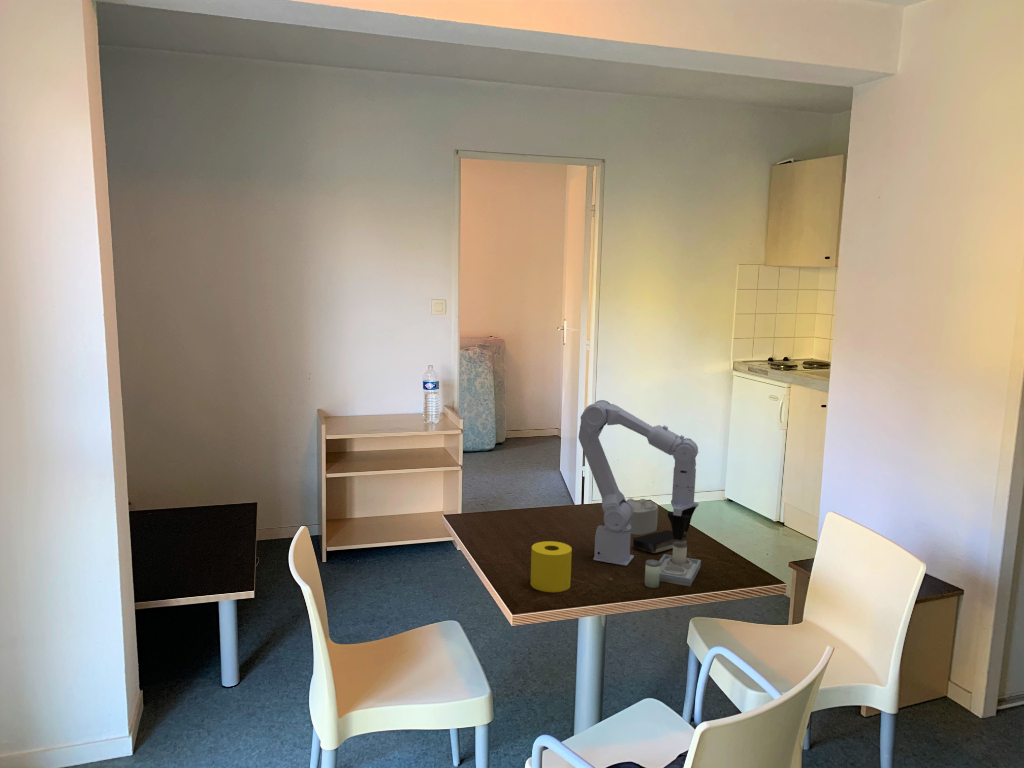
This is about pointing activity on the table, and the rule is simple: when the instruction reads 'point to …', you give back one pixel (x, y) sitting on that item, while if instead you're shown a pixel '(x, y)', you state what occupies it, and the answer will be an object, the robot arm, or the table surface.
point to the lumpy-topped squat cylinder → (643, 516)
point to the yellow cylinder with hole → (551, 566)
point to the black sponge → (657, 541)
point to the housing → (678, 571)
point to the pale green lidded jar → (652, 573)
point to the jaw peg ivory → (679, 553)
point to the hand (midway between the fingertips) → (680, 535)
